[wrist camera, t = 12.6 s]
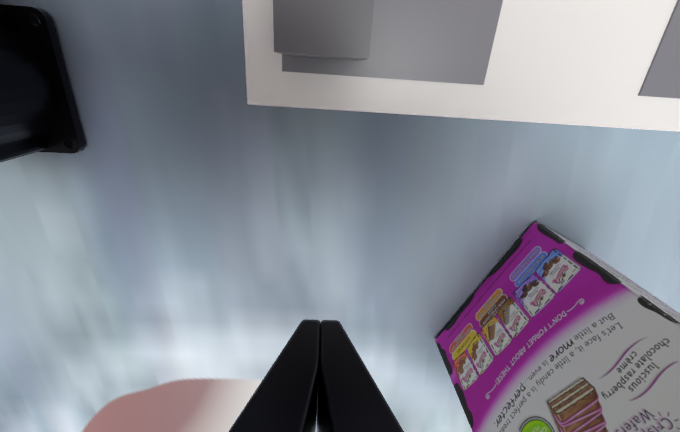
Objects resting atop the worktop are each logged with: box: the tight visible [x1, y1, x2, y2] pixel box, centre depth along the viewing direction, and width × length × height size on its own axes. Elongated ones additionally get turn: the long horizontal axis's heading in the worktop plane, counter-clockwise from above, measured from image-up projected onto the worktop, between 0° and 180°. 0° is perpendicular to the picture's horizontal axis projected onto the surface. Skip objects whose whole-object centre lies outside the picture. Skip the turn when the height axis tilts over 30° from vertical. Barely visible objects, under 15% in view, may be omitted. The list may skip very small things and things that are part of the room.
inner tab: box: [273, 0, 374, 60], centre depth 11 cm, size 3×3×3 cm
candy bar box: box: [435, 222, 680, 432], centre depth 15 cm, size 11×5×16 cm, turn 152°
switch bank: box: [242, 0, 680, 132], centre depth 14 cm, size 7×27×3 cm, turn 86°
